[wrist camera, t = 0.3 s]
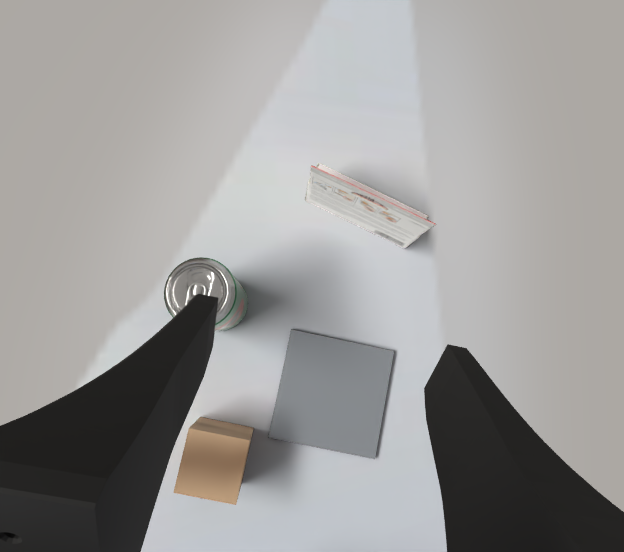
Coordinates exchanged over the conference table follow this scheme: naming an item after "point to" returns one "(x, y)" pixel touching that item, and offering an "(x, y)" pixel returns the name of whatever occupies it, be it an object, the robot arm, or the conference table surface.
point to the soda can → (206, 290)
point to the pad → (332, 394)
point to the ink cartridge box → (365, 207)
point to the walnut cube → (214, 460)
